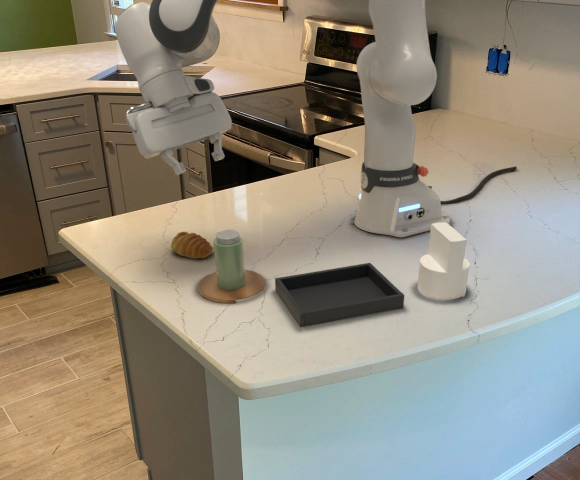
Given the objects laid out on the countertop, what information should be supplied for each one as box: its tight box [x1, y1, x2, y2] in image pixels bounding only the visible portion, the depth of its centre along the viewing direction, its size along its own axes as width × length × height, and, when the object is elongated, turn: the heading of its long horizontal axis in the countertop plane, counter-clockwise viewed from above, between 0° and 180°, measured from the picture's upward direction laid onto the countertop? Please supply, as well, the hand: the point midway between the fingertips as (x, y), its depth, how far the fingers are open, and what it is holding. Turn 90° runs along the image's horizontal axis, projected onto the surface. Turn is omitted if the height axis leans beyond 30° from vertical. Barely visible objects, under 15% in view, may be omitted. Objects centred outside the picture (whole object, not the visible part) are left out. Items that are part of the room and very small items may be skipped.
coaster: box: [197, 269, 266, 304], centre depth 121 cm, size 13×13×1 cm
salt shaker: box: [213, 229, 246, 290], centre depth 119 cm, size 5×5×10 cm
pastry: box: [170, 231, 214, 259], centre depth 135 cm, size 9×7×4 cm
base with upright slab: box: [417, 222, 470, 301], centre depth 115 cm, size 9×9×12 cm
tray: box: [274, 262, 405, 328], centre depth 115 cm, size 20×15×3 cm
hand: (201, 166), depth 119 cm, fingers open, 8 cm apart
